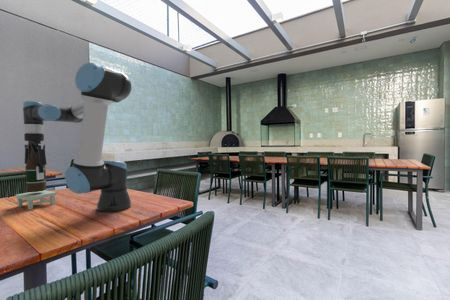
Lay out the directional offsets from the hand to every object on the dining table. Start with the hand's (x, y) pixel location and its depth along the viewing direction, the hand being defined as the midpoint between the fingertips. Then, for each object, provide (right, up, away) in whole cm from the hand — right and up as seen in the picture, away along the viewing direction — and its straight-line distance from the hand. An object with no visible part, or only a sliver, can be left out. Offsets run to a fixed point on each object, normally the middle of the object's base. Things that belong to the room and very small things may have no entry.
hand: (35, 178), depth 116 cm
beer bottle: (0, -6, 0) cm, 6 cm away
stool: (0, -14, +1) cm, 14 cm away
